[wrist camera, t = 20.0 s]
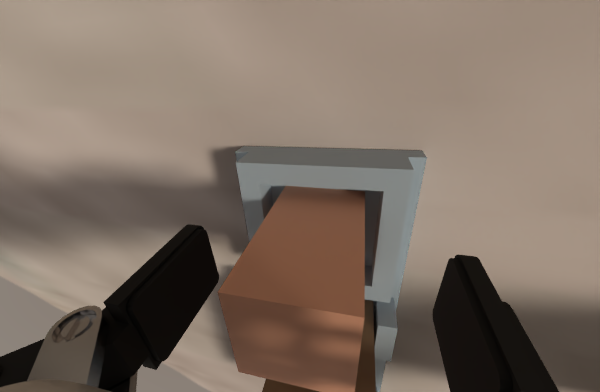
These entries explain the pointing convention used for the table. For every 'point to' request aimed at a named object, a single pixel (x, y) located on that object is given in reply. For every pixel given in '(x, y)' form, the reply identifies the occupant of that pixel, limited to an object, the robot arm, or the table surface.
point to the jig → (378, 211)
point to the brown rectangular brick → (301, 291)
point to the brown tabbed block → (366, 366)
